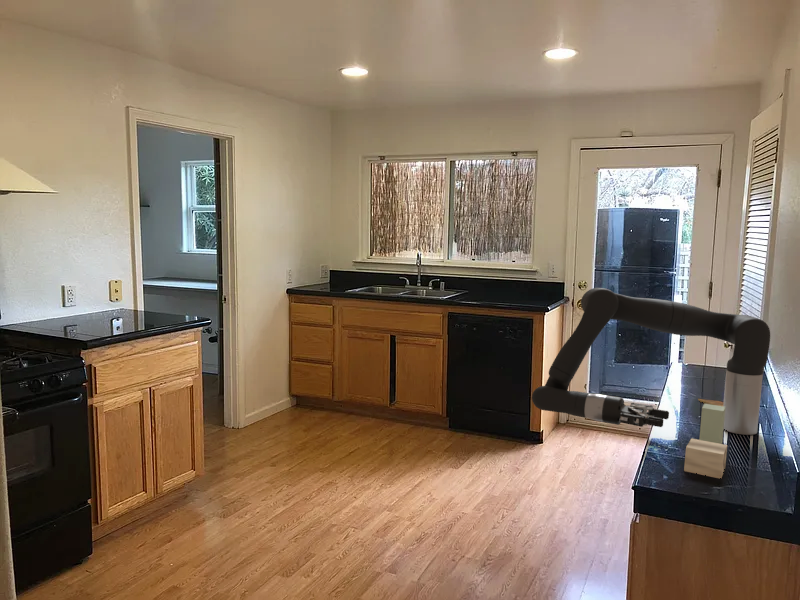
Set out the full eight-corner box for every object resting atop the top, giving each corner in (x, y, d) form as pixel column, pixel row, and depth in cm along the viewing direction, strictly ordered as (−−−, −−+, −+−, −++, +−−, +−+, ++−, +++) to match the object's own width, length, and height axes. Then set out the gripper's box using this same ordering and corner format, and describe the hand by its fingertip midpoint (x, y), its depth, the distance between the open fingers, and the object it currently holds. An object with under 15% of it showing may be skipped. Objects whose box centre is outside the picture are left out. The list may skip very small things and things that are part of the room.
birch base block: (689, 461, 161) (691, 438, 161) (725, 469, 157) (727, 445, 156) (683, 471, 155) (686, 447, 154) (721, 479, 150) (723, 454, 150)
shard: (697, 402, 219) (697, 397, 219) (716, 401, 221) (716, 396, 221) (720, 411, 209) (721, 406, 209) (740, 410, 211) (740, 405, 210)
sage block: (700, 447, 172) (704, 403, 170) (721, 451, 169) (725, 406, 168) (698, 453, 167) (702, 407, 166) (719, 457, 165) (723, 411, 163)
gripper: (598, 400, 175) (662, 411, 167) (611, 390, 187) (671, 399, 179) (596, 427, 176) (660, 439, 167) (609, 415, 188) (669, 426, 180)
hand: (665, 419), depth 173 cm, fingers open, 8 cm apart
